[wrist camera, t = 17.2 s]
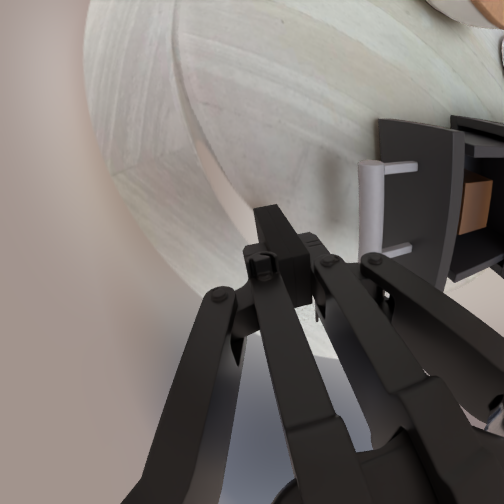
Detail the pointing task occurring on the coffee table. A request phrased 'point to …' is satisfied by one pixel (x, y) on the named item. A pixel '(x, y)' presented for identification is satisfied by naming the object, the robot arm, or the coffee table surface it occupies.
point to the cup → (503, 51)
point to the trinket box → (473, 12)
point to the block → (474, 202)
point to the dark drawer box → (486, 128)
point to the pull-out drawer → (430, 200)
